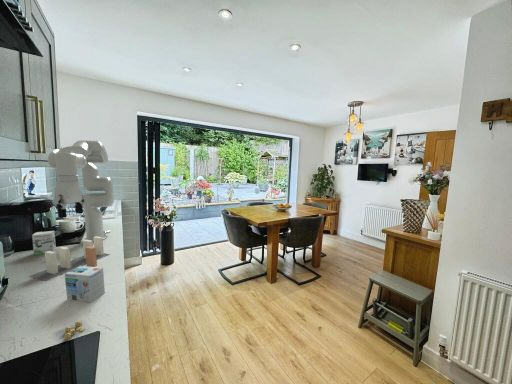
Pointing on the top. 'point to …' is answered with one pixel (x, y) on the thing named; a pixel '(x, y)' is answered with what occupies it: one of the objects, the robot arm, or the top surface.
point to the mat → (74, 264)
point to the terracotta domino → (91, 256)
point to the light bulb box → (84, 283)
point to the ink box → (43, 242)
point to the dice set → (72, 330)
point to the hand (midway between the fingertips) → (71, 215)
